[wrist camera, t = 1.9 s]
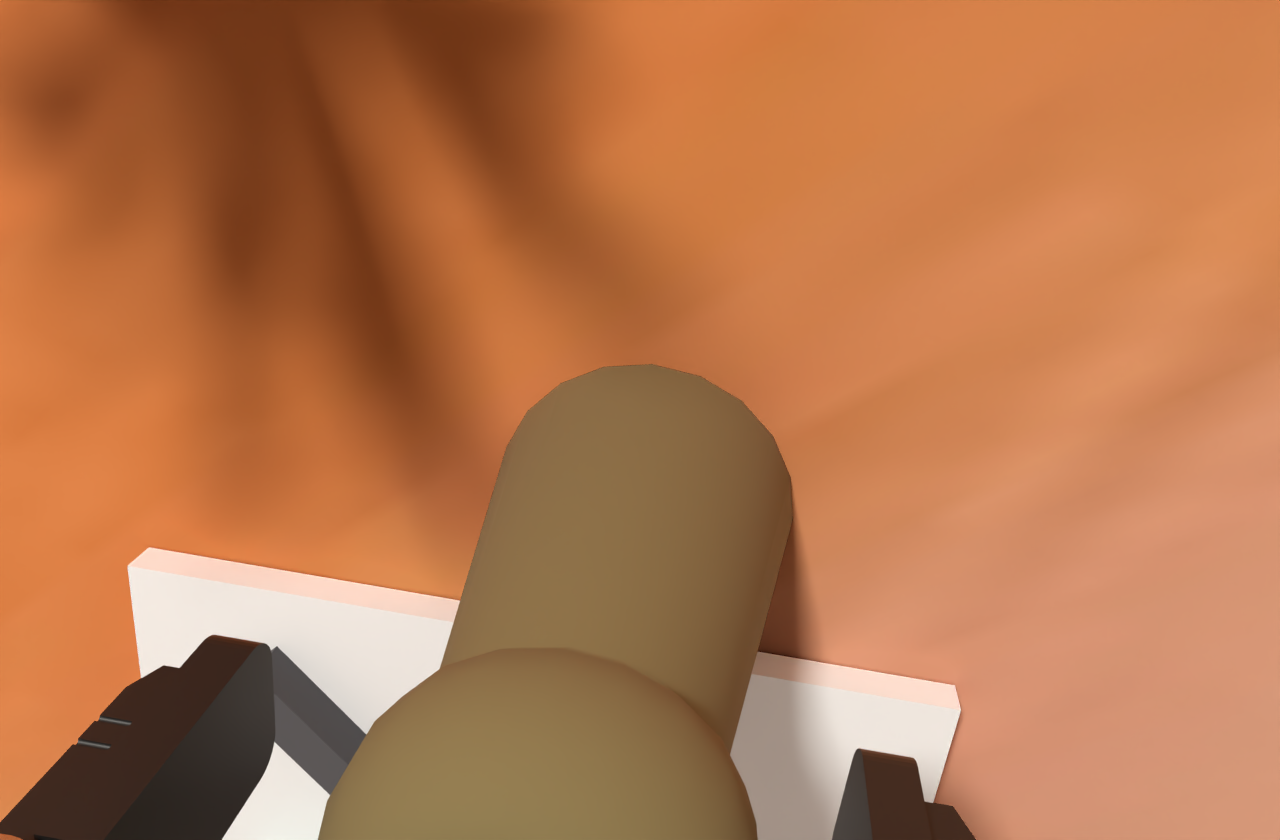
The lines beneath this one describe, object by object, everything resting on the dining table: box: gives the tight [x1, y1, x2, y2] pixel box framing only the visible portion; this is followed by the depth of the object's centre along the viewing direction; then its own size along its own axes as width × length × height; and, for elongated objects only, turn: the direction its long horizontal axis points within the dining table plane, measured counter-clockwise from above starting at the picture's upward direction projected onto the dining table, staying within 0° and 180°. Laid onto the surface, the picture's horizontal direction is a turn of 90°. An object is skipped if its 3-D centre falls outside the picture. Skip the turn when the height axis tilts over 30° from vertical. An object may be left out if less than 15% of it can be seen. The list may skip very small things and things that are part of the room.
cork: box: [318, 364, 793, 840], centre depth 15 cm, size 6×6×11 cm
